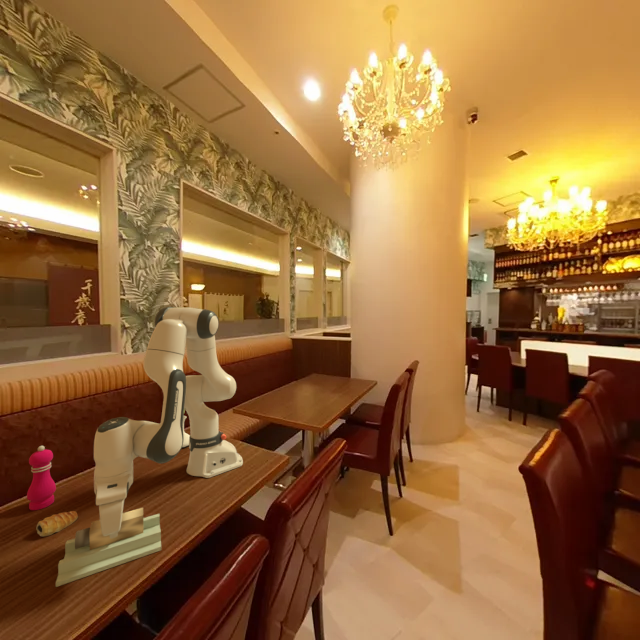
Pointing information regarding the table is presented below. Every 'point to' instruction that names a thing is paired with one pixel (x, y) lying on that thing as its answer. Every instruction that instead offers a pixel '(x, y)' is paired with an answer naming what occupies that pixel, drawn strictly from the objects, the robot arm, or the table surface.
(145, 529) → the grooved moulding strip
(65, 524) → the pastry
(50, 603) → the table surface
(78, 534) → the grey-capped wooden block
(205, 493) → the table surface
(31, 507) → the pepper mill
